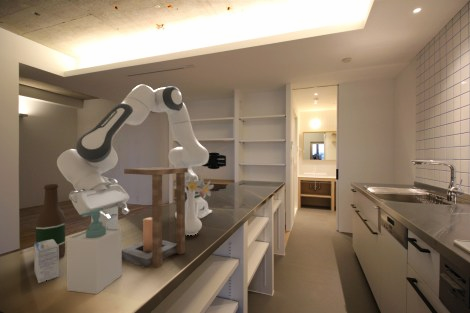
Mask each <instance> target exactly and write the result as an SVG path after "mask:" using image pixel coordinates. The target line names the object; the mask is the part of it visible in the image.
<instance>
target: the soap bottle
mask: <svg viewBox="0 0 470 313" xmlns="http://www.w3.org/2000/svg"><path fill="white" fill-rule="evenodd" d="M102 210H103V208H98V209H96V210H93V211H89V212H86V213H82V214H79V217H84V216H85V217H88V216H90V217H91V216H92V219H93V223H91V222H90V223H89V225H88V226H89V228H87V229H85V231H83V232H81V233H77V234H75V235H73V236H70V237H68V238H67V239H66V265H67V266H66V291H70V292H77V293H83V294H86V293H87V294H93V295H99V293H101V291H103V290H104V289H106V288H107V287H108V286H110V285H111V284H112V283H114V282H115V281H116V280H118V279H119V278H120V277H121V276H122V275H123V274H122V273H123V272H122V267H123V266H122V263H123V259H122V250H123V249H122V248H123V247H122V245H123V244H122V240H123V239H122V238H123V237H122V232H123V230H122V228H118V229H111V228H106V227H105V226H103V223H102V222H99V218H100V211H102Z"/></svg>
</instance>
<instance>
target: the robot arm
mask: <svg viewBox="0 0 470 313" xmlns="http://www.w3.org/2000/svg"><path fill="white" fill-rule="evenodd" d="M188 111H189V110H188V108H187V106H186V104H185V103H184V96H183V94H182V92H181V91H180V89H179V88H178V87H176V86H165V87H160V88H156V89H153V88H152V87H150V86H148V85H146V84H139V85H136V86H135V87H134V88H133V89H132V90H131V91H130V92H129V93H128V94H127V95H126V97H125V98H124V99H123V100H122V102H120V103H118V104H117V105H115V106H114V107H113V108H112V109H111V110H109V112H108V113H107V114H106V115H105V116H104V117H103V118H102V119H101V120H100V121H99V122H98V123H97V124H96V126H94V127H93V128H92V129H90V130H89V131H87V132H85V133H84V134H83V135H81V136H80V137H79V138H78V140H77V141H76V145H75V149H73V148H70V149H67V150H65V151H64V152H62V153H61V154H60V155H58V157H57V160H56V165H57V168H58V170H59V171H60V173H61V175H62V176H63V177H64V178H65V179H66V181H67V182H69V183H71V185H72V186H73V188H74V190H71V191H70V192H69V193H68V199H69V200H70V201H71V203H72V205H73V207H74V209H75V210H76V212H77V213H78V215H80V214H82V213H86V212H89V211H93V210H96V209H98V208H103V210H102V211H104V210H108V209H111V208H114V207H117V206H118V208H119V209H120V208H121V213H122V215H125V216H126V215H127V214H129V213H130V209H129V208H128V205H127V202H128V201H129V200H130V195H129V194H128V192H127V191H126V190H125V189H124V188H123V187H122V186H121V185H120V184H118V183H119V181H118V180H117V179H116V178H111V177H106V176H104V174H105V173H107V172H109V171H111V170H112V169H115V167H116V166H117V165H118V162H119V156H118V153H117V152H116V150H115V148H114V147H113V139H114V137H115V136H116V135H117V134H118V132H119V131H120V130H121V129H122V127H123V126H124V125H125V124H127V125H130V126H138V125H142V123H143V122H144V121H146V119H147V118H148V117H149V114H150V113H152V114H156V113H166V114H167V118H168V119H167V120H168V123H169V127H170V132H171V134H172V138H173V140H175V141H176V142H178V144H179V145H180V146H177V147H173V148H171V149H170V150H169V152H168V161H169V163H171V165H172V167H173V168H188V172H185V178H186V177H187V176H190V177H193V178H194V176H197V181H198V180H199V177H198V175H197V173H195V172H194V170H193V169H192V168H193V167H199V166H204V165H206V164H207V163H208V162H209V159H210V154H209V151H208V149H207V148H206V147H204V146H203V145H202V144H201V143H200V142H199V140H198V139H197V137H196V135H195V132H194V130H193V126H192V122H191V118H190V114H189V112H188ZM189 180H190V179H189ZM188 188H189V187H188ZM186 189H187V188H186V187H185V216H186V213H187V193H186ZM201 195H204V191H203V190H201V189H200V192H196V191H195V197H194V204H195V213H196V216H197V218H198V219H199V220H200V219H203V218H204V217H207V216H209V214H212V213H213V210H212V209H209V204H208V202H207V200H205V198H203V197H202V196H201ZM174 214H175V217H174V218H176V212H175V213H174ZM83 217H85V218H86V216H83ZM100 219H102V220H103V221H104V222H107V221H109V220H110V219H111V217H110V216H109V215H108V214H107V215H106V214H105V213H103V212H101V211H100Z"/></svg>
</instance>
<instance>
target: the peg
mask: <svg viewBox="0 0 470 313" xmlns="http://www.w3.org/2000/svg"><path fill="white" fill-rule="evenodd" d="M142 242H143V252H146V253H151V252H152V217H146V218H143V219H142Z"/></svg>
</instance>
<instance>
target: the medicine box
mask: <svg viewBox="0 0 470 313" xmlns="http://www.w3.org/2000/svg"><path fill="white" fill-rule="evenodd" d="M33 249H34V250H33V254H34V256H33V257H34V258H33V259H34V262H33V263H34V266H33V267H34V268H33V269H34V275H35V277H36V279H37V284H40V283H44V282H47V281H50V280H54V279H55V278H59V277H60V259H59V246H58V245H57V243H56V242H55V241H54V239H51V240H46V241H42V242H38V243H36V242H35V243H34V248H33ZM46 280H47V281H46Z"/></svg>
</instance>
